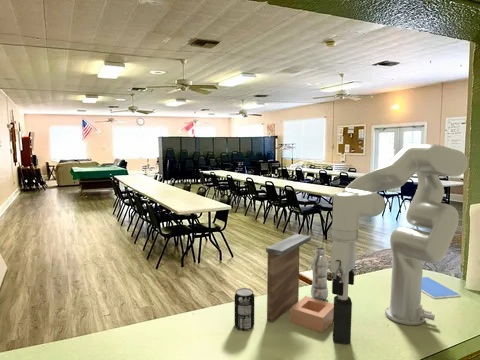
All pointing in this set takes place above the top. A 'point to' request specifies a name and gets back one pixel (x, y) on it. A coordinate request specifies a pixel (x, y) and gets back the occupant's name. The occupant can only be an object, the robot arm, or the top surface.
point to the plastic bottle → (319, 275)
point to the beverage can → (244, 309)
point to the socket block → (312, 313)
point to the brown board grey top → (283, 275)
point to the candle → (342, 315)
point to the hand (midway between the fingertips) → (343, 288)
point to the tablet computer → (436, 289)
